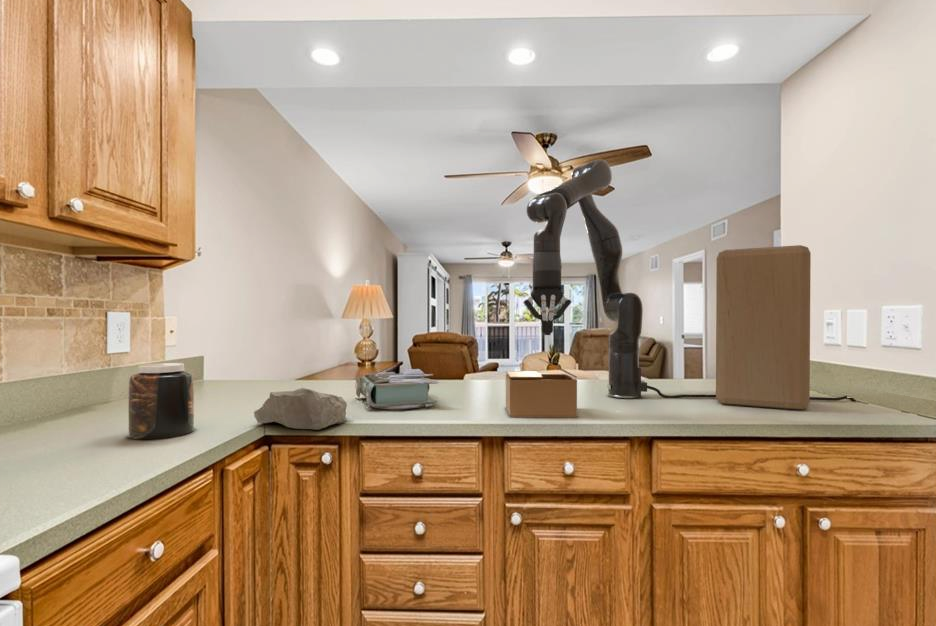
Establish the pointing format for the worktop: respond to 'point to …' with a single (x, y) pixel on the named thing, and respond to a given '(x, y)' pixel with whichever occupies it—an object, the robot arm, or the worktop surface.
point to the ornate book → (396, 389)
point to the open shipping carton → (540, 394)
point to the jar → (161, 401)
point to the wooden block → (763, 327)
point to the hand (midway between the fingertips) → (547, 334)
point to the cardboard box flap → (559, 368)
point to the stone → (302, 409)
